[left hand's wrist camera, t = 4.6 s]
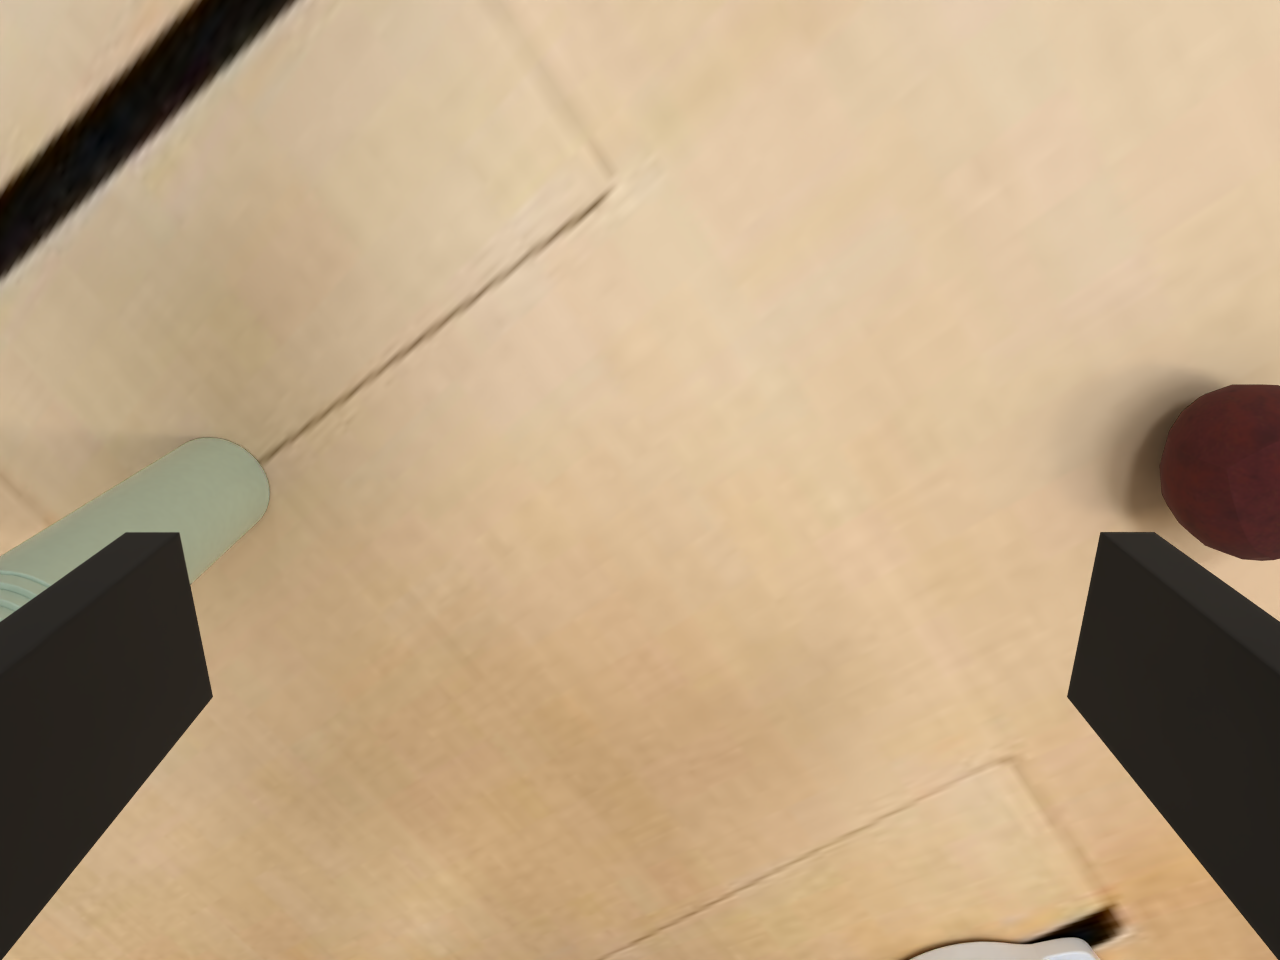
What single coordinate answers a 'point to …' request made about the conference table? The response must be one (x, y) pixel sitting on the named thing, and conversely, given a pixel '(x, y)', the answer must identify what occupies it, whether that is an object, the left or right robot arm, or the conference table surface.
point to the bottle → (148, 517)
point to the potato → (1227, 470)
